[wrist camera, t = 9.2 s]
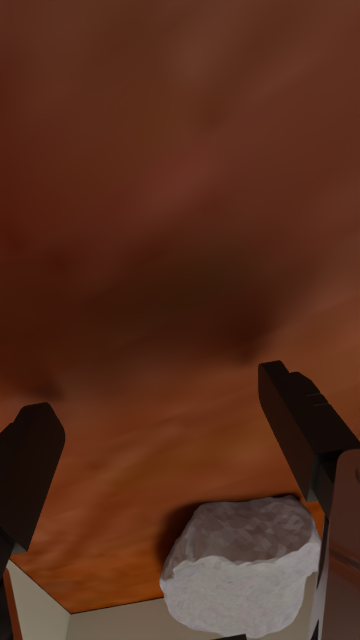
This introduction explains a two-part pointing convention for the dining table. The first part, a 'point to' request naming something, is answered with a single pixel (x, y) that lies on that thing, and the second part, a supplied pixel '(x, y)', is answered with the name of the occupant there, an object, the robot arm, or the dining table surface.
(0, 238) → the dining table surface
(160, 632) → the cream u-shaped barrier
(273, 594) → the stone block
